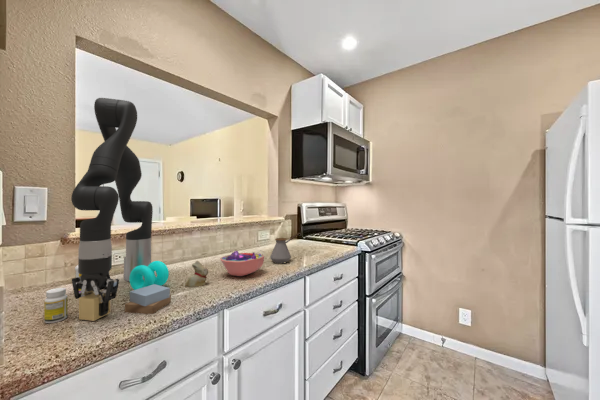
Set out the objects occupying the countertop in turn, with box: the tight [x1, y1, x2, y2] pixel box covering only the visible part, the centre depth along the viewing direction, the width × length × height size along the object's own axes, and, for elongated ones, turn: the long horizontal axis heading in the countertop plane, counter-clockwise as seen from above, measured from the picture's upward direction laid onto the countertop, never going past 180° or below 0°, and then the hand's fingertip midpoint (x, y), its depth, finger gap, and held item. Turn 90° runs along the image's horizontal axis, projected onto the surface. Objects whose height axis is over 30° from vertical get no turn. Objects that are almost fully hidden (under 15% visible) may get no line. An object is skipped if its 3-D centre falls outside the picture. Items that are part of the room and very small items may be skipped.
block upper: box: [129, 284, 171, 306], centre depth 81 cm, size 8×8×3 cm
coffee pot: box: [270, 232, 302, 264], centre depth 144 cm, size 21×12×15 cm, turn 137°
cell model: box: [219, 250, 265, 277], centre depth 116 cm, size 17×20×11 cm
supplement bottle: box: [43, 287, 69, 324], centre depth 72 cm, size 5×5×8 cm
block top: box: [78, 292, 111, 322], centre depth 73 cm, size 5×5×6 cm
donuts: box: [128, 260, 170, 290], centre depth 97 cm, size 10×10×10 cm
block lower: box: [124, 294, 172, 315], centre depth 81 cm, size 9×9×3 cm
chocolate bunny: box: [184, 260, 209, 288], centre depth 102 cm, size 6×8×10 cm
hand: (95, 313), depth 73 cm, fingers closed on block top, 5 cm apart
